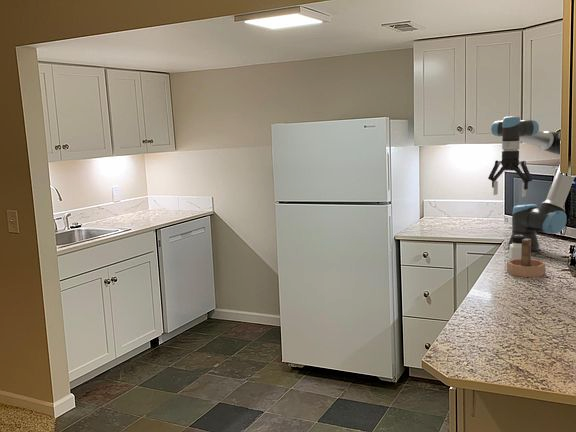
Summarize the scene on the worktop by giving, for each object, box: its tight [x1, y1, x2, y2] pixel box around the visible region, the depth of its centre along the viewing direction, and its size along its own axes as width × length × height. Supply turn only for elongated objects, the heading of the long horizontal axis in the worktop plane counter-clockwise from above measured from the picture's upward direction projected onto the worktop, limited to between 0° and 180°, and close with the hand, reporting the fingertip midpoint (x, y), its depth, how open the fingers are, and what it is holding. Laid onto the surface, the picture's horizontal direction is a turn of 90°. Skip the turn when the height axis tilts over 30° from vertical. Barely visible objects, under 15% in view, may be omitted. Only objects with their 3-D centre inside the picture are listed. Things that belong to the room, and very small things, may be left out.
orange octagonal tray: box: [506, 258, 546, 278], centre depth 262 cm, size 15×15×4 cm
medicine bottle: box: [508, 235, 526, 261], centre depth 284 cm, size 7×7×12 cm
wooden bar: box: [521, 238, 532, 266], centre depth 261 cm, size 4×2×14 cm, turn 136°
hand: (509, 195), depth 278 cm, fingers open, 13 cm apart
